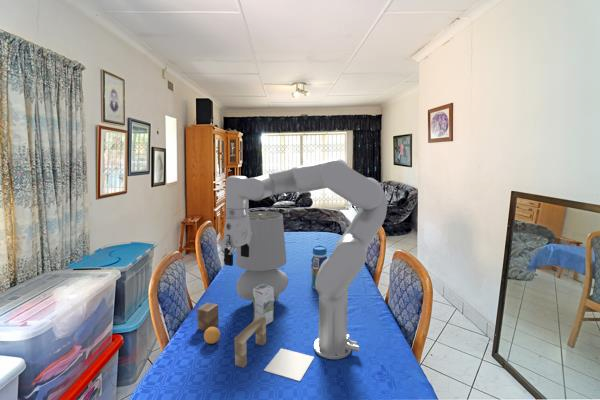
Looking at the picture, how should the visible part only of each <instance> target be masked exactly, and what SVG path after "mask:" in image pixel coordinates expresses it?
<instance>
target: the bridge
mask: <svg viewBox="0 0 600 400" xmlns="http://www.w3.org/2000/svg"><path fill="white" fill-rule="evenodd" d="M254 334H255V344H256V345H260V346H264V345H265V344H266V343H267V325H266V318H263V317H259V316H258V317H257V318H256V319H255V320H254V319H253V321H252V322H251V323H250V324H248V325H247V326H246V327H245V328H244V329H243V330H242V331H240V332H239V333H238V335H236V336H235V337H234V339H233V340H234V341H233V342H234V364H235V365H234V366H237V367H240V368H245V367H246V366H247V364H248V359H247V358H248V356H247V355H248V353H247V352H248V351H247V348H248V347H247V341H248V340H249V338H251V337H252V336H253V335H254Z"/></svg>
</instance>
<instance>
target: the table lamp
mask: <svg viewBox="0 0 600 400" xmlns="http://www.w3.org/2000/svg"><path fill="white" fill-rule="evenodd" d="M248 215H249V218H250V226H251V232H252V236H251V241H250V246H249V257H243V256H241V247H239V248H236V253H235V254H236V256H235V257H236V258H235V264H236V265H235V266H237V267H238V268H239V269H242V270H244V271H243V272H242V273H241V275H240V276H239V278H238V279H237V281H236V293H237V295H238V296H239V297H240V298H242V299H243V300H247V301H251V302H252V303H253V288H255V287H257V286H259V285H262V284H267V285H269V286H271V287H273V288H274V302H278V301H279V297H280V295H281V294H282V293H283V292H285V290H286V289H287V287H288V284H289V277H288V274H286V273H285V272H283V271H282V270H280V269H279V268H281V267H283V266H285V265H286V264H287V262H288V261H287V251H286V241H285V238H286V237H285V228H284V215H283V214H282V213H280V212H276V211H248Z"/></svg>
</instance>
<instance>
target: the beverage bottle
mask: <svg viewBox="0 0 600 400" xmlns="http://www.w3.org/2000/svg"><path fill="white" fill-rule="evenodd" d="M327 250H328V249H327V246H325V245H315V246H313V247H312V254H313V256H312V257H311V260H310V262H311V264H310V268H311V282H310V283H311V287H312V289H315V290H316V286H315V280H316V276H317V274H318V271H319V268H320V266H321V264H322V263H323V262H324V261H325V260H326V259H327V258H328V257H327V254H328V253H327V252H328V251H327Z"/></svg>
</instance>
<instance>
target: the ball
mask: <svg viewBox="0 0 600 400" xmlns="http://www.w3.org/2000/svg"><path fill="white" fill-rule="evenodd" d="M220 337H221V332H220V329H218V328H217V326H216V327H209V328H208V329H207V330H206V331H204V333H203V339H204V341H205V343H207V344H209V345H210V344H215V343H217V342H218V341H219V340H220Z"/></svg>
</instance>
